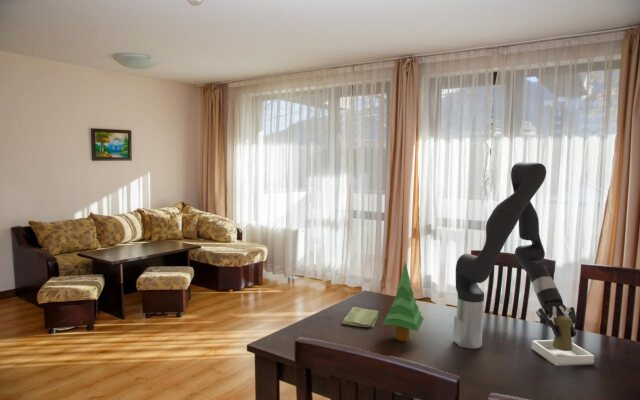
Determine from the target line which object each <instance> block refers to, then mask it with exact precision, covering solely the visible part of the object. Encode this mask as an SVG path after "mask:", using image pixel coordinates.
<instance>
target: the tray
mask: <svg viewBox="0 0 640 400" xmlns="http://www.w3.org/2000/svg"><path fill="white" fill-rule="evenodd" d="M553 342H554V339H544V340H543V339H542V340H541V339H537V340H536V339H535V340H532V341H531V349H532V351H535V352H536V353H537V354H538V355H540V356H541V357H543V358H544V359H545V360H546V361H548V362H550V363H552V364H553V365H554V366H556V367H562V366H563V367H564V366H581V365H582V366H584V365H594V363H595V355H594V354H593V353H591V352H589V351H587V350H585V349H584V348H582V347H580V346H579V345H577V344H575V343H574V342H572V350H571V351H562V350H558V349H556V348H554V347H553Z"/></svg>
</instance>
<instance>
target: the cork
mask: <svg viewBox="0 0 640 400" xmlns="http://www.w3.org/2000/svg"><path fill="white" fill-rule="evenodd" d="M556 323H557V325H558V327H559V330H560V332H561V334H562V336H561V337H560V338H557V337H556V336H555V335H554V338H553V340H554V342H553V347H554V348H556V349H558V350H562V351H571V350H572V343H573V342H572V341H573V340H572V337H571V328H570V327H571V326H572V324H573V322H572V319H571V318H569V317H567V316H557V318H556ZM557 325H556V326H557Z"/></svg>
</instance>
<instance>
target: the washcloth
mask: <svg viewBox="0 0 640 400" xmlns="http://www.w3.org/2000/svg"><path fill="white" fill-rule="evenodd" d="M378 317H379V310H374V309H370V308H369V309H366V308H361V307H356V306H352V308H351V309H350V311H349V312H348V314H347V315H345V317H344V318H343V319H342V321H341V325H344V326H351V327H360V328H361V327H363V328H369V327H370V328H369V329H374V326H375V325H376V322H377V320H378Z"/></svg>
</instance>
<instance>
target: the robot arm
mask: <svg viewBox="0 0 640 400" xmlns="http://www.w3.org/2000/svg"><path fill="white" fill-rule="evenodd" d="M546 177H547V167H546V166H545V165H544V164H543V163H540V162H534V161H533V162H528V161H520V162H519V161H518V162H516V163H514V164H513V166H512V167H511V171H510V181H511V185H512V191H513V193H512V194H510V195H509V196H508V197H507V198H505V199H504V200H502V201H501V202H500V203H499V204H497V205H496V207H495V208H494V209H493V210H492V212H491V214H490V215H489V217H488V219H487V220H486V223H485V224H486V225H485V243H484V245H483V247H482V249H481V252H480V253H478V255H474V254H470V253H464V254H461V255H460V256H459V257H458V258H457V261H456V263H455V290H456V292H457V301H456V302H457V304H456V315H455V316H454V321H453V340H452V341H453V342H454V343H455V344H457V346H458V347H460V348H466V349H469V350H470V349H473V350H474V349H475V350H476V349H479V348H481V347H482V346H483V345H482V344H483V329H484V328H483V326H484V325H483V324H484V322H483V321H484V310H485V309H484V308H485V307H484V305H485V292H484V291H483V290H482V289H481V288H480V286H479V285H478V284H481V283H484V282H486V281H487V279H489V276H490V275H491V274H492V271H493V269H494V267H495V264H496V262H497V260H498V257H499V255H500V253H501V251H502V249H503V247H504V246H505V244H506V243H507V240H508V239H509V237H510V235H511V233H513V230H514V229H515V227H516V225H517V223H518V234H519V238H520V239H521V240H524V241H529V242H531V244H524V245H518V246H517V247H516V248H515V249H514V256H515V259H516V261H517V262H518V264H519V265H520V266H521V267H522V269H524V271H525V272H526V274H527V275H528V277H529V280H530V282H531V284H532V287H533V291H534V293H535V295H536V297H537V300H538V302H539V305H540V306H541V308H540V307H539V308H538V310H536V311H535V313H536V315H537V316H538V318H539V319H540V321H541V323H542V324H543V325H544V326H545V327H550V328H551V329H552V332H553V334H554V337H555V336H556V337H557V338H560V337H561V336H562V334H561V332H560V330H559V327H558V325H557V323H556V318H557V316H567V317H569V318H571V319H572V322H573V324H572V326H571V327H570V328H571V338H574V337H576V336H577V331H576V329H575V327H574V325H575V324H576V323H578V320H577V315H576V312H575V311H576V310H575V308H574V306H571V307H567V306H566V305H565V304H564V302H563V298H562V296H561V293H560V291H559V289H558V287H557V285H556V283H555V281H554V280H553V278H552V276H551V274H550V271H549V270H548V267H547V266H546V265H545V264H542V263H540V262H543V260H544V259H545V258H546V253H545V249H544V246H543V244H542V239H541V237H540V226H539V225H540V222H539V216H538V212H537V211H536V209H535V207H534V205H533V204H532V202H531V200H532V199H533V198H534V196H535V195H536V193H537V192H538V191H539V190H540V188H541V187H542V184H543V183H544V181H545V180H546Z"/></svg>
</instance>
